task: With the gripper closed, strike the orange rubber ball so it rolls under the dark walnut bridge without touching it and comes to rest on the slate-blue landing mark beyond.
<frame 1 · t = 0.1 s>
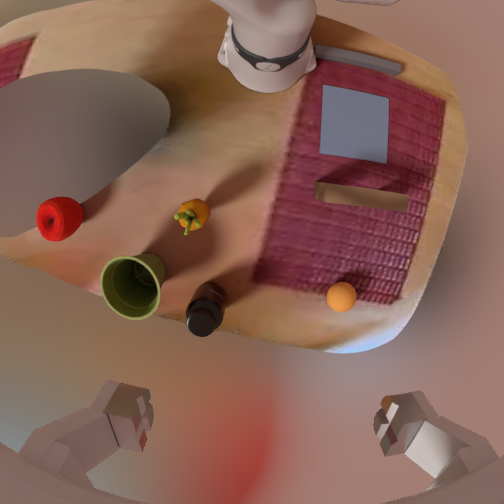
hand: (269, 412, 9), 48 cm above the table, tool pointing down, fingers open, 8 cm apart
apple: (75, 213, 55), on the table
plant pot: (149, 268, 58), on the table
stopper wall: (357, 61, 47), on the table
bridge: (351, 193, 54), on the table
supplement bottle: (210, 296, 60), on the table
carrot: (203, 207, 55), on the table
ball: (341, 296, 56), on the table
landing mark: (356, 123, 50), on the table
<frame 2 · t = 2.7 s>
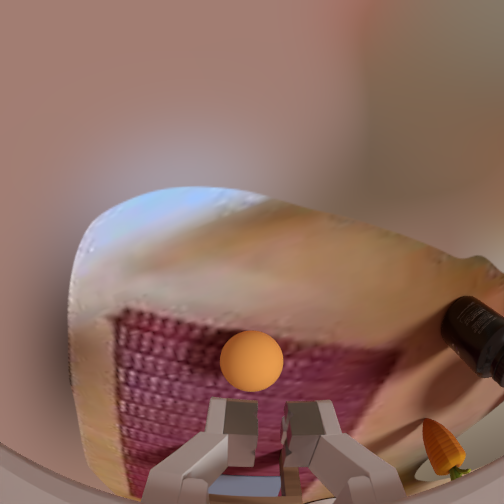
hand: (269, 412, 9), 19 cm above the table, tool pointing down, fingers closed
bridge: (242, 453, 35), on the table
supplement bottle: (458, 318, 29), on the table
carrot: (424, 418, 34), on the table
ball: (251, 361, 27), on the table
landing mark: (238, 492, 38), on the table
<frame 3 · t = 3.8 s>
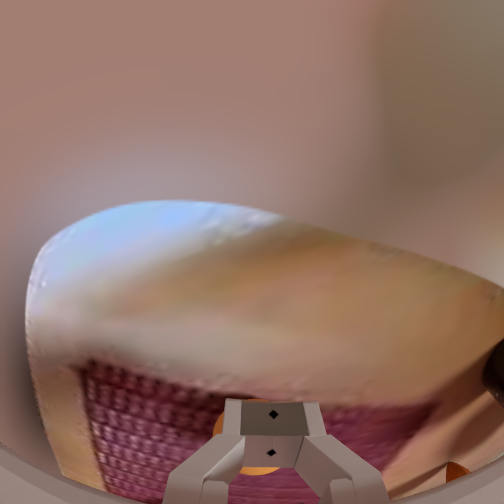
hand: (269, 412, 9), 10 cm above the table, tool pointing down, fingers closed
supplement bottle: (501, 359, 20), on the table
carrot: (448, 461, 25), on the table
ball: (254, 437, 18), on the table
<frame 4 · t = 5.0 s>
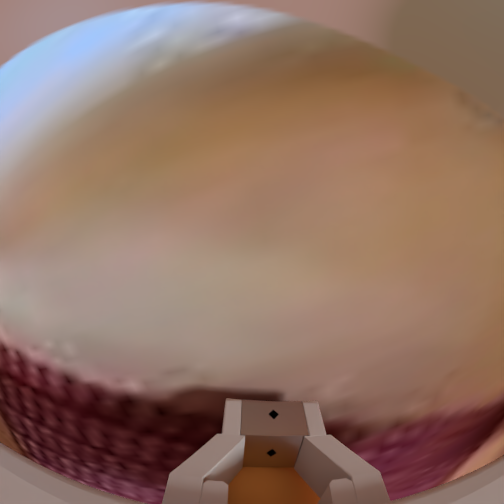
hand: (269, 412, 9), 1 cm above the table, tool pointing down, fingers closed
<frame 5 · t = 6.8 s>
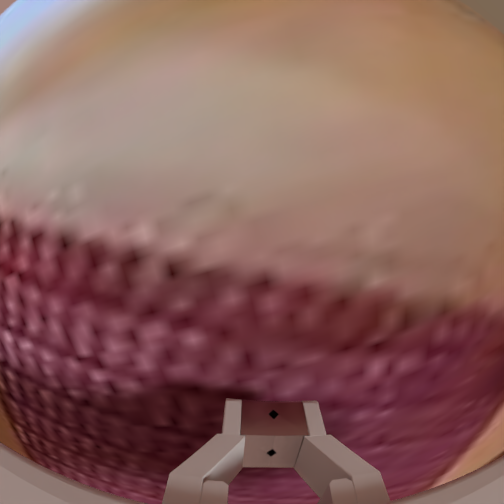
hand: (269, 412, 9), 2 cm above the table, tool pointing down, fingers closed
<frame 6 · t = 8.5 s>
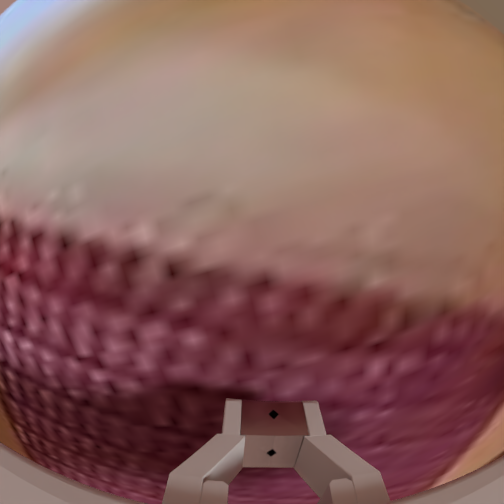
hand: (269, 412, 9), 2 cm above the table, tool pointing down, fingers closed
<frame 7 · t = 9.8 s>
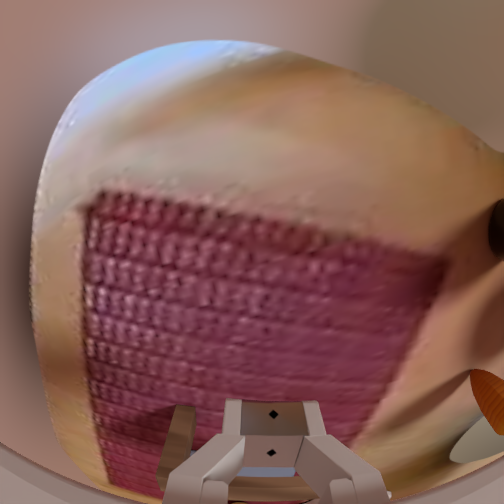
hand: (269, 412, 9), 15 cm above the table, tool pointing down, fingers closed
bridge: (246, 420, 28), on the table
carrot: (470, 369, 27), on the table
landing mark: (241, 480, 31), on the table
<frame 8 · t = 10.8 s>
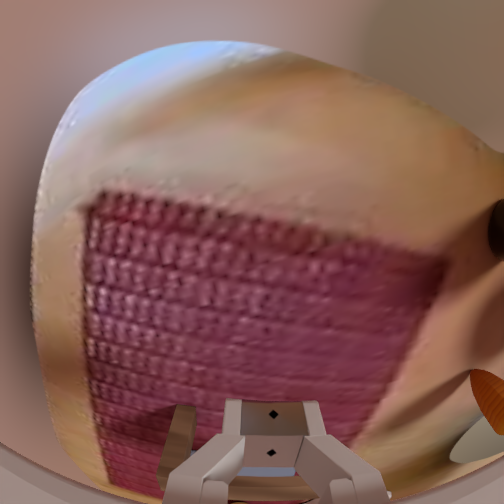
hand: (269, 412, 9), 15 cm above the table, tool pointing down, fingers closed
bridge: (247, 420, 28), on the table
supplement bottle: (503, 228, 22), on the table
carrot: (470, 369, 27), on the table
landing mark: (241, 480, 31), on the table
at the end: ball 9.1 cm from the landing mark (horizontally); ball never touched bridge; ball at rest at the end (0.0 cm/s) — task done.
